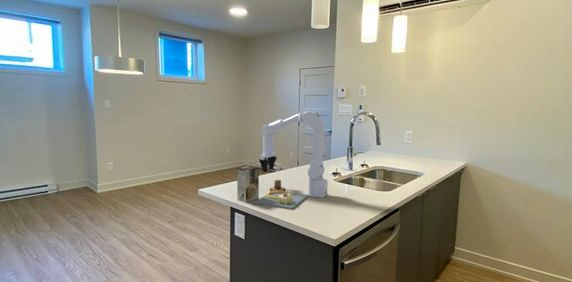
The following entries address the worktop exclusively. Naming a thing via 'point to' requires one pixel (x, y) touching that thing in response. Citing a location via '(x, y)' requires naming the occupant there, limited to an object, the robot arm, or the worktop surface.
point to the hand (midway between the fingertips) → (268, 170)
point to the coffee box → (247, 183)
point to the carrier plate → (275, 203)
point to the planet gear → (277, 186)
